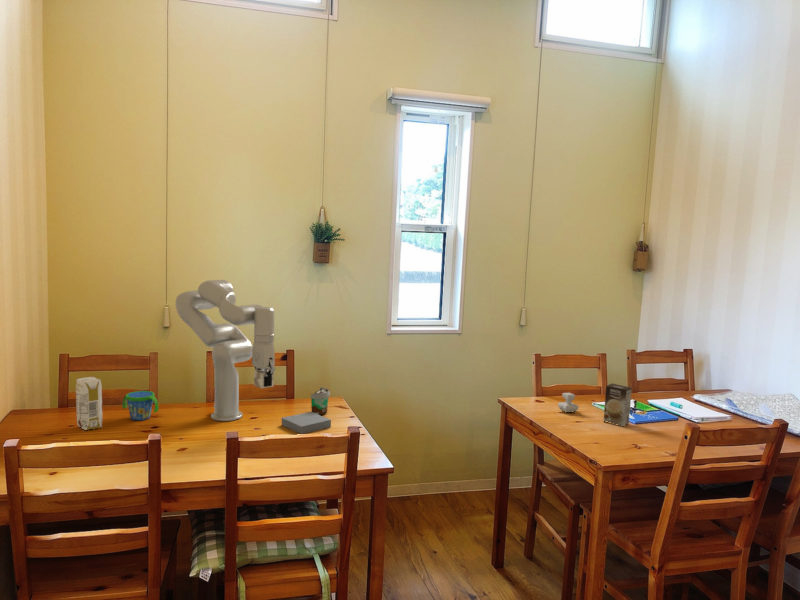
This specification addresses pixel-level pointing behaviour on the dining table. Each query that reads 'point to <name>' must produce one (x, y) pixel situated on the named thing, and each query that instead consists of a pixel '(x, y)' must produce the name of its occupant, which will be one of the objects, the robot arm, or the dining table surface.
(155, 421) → the dining table surface
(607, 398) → the coffee box
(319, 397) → the food container
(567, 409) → the stamp
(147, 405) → the snack cup
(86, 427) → the juice carton
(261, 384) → the block
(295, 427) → the stand
